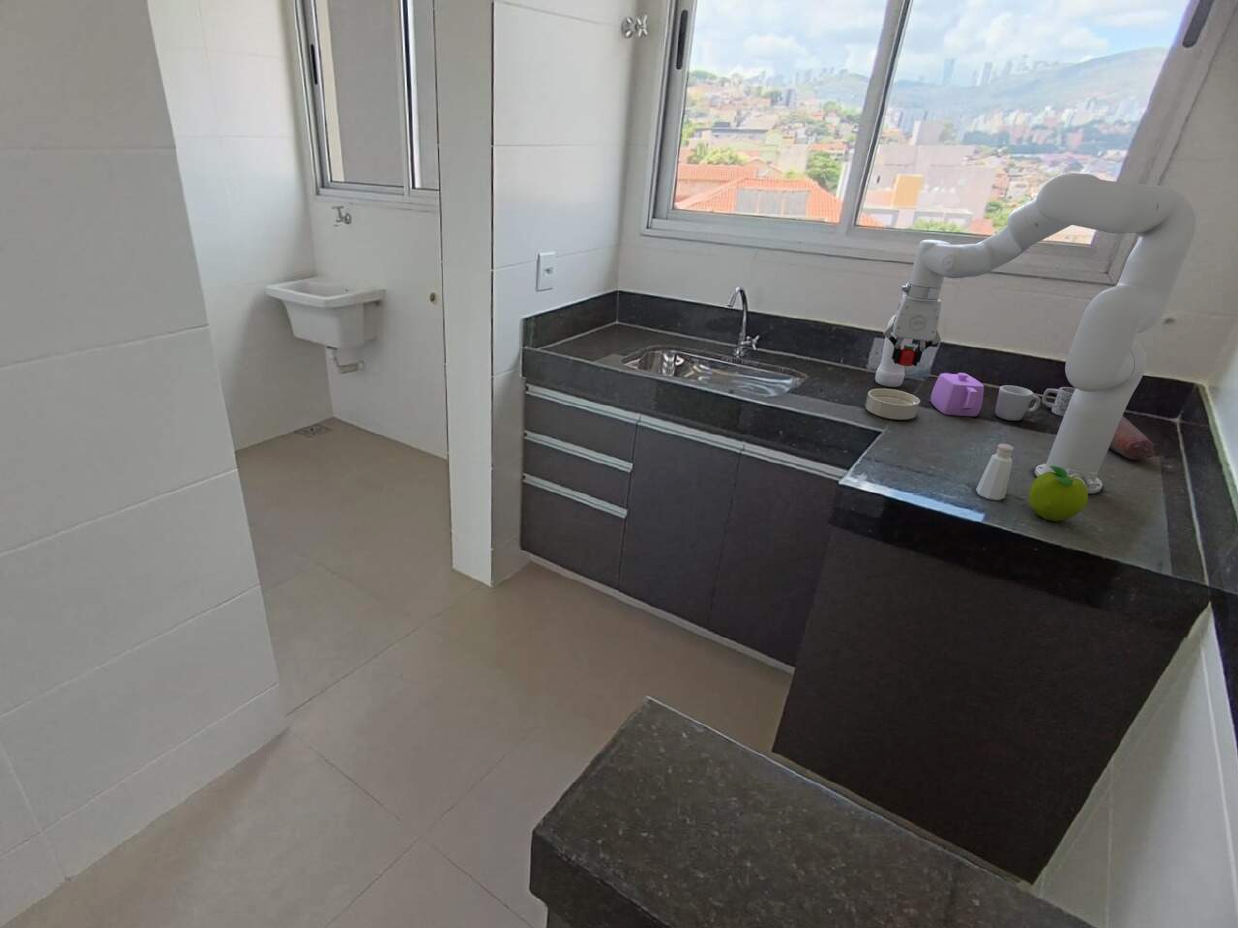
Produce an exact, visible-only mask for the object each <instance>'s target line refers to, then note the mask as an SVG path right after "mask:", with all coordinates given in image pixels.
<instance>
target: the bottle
mask: <svg viewBox="0 0 1238 928" xmlns="http://www.w3.org/2000/svg"><path fill="white" fill-rule="evenodd" d="M908 283H909V282H907V283H906V284H905V285H904V286H907V285H908ZM904 295H906V293H905V292H904V291H902V297H903V296H904ZM895 315H896V313H895V314H894V315H893V316H892V317H891V318H890V319H889V320H888V323H887V326H886V329H887V328H888V327H889V326H890V325H891V324H892V323H893V321H894V318H895ZM891 335H892V336H894V338H895V339H896V336H895V335H894V334H893V332H891ZM884 337H885V336H884ZM913 340H914V339H906V338H904V339H903V341H902V343H901V347H900V348H901V349H903V348H904V345H905V344H909V345H912V344H913ZM893 350H894V345H893V344H892V342H891V341H890V340H889V339H888V338H886V337H885V338H884V343H883V349H882V354H881V361H880V364H879V366H878V367H877V369H876V372H875V377H874V379H875V383H877V384H879V385H881V386H883V387H889V388H897V387H900V386H902V385H903V382H904V379H905V375H906V372H905V367H906V366H903V365H899V364H895V363H894V361H893V359H892V354H893Z"/></svg>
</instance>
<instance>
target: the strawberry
mask: <svg viewBox="0 0 1238 928" xmlns="http://www.w3.org/2000/svg"><path fill="white" fill-rule="evenodd" d="M914 348H915V346H914V345H912V344H911V345H909V344H905V345H904V348H903V349H901V353H900V357H899V361H898V364H899V365H903V366H905V367H913V366H914V365H913V362H914V358H915V349H914Z"/></svg>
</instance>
